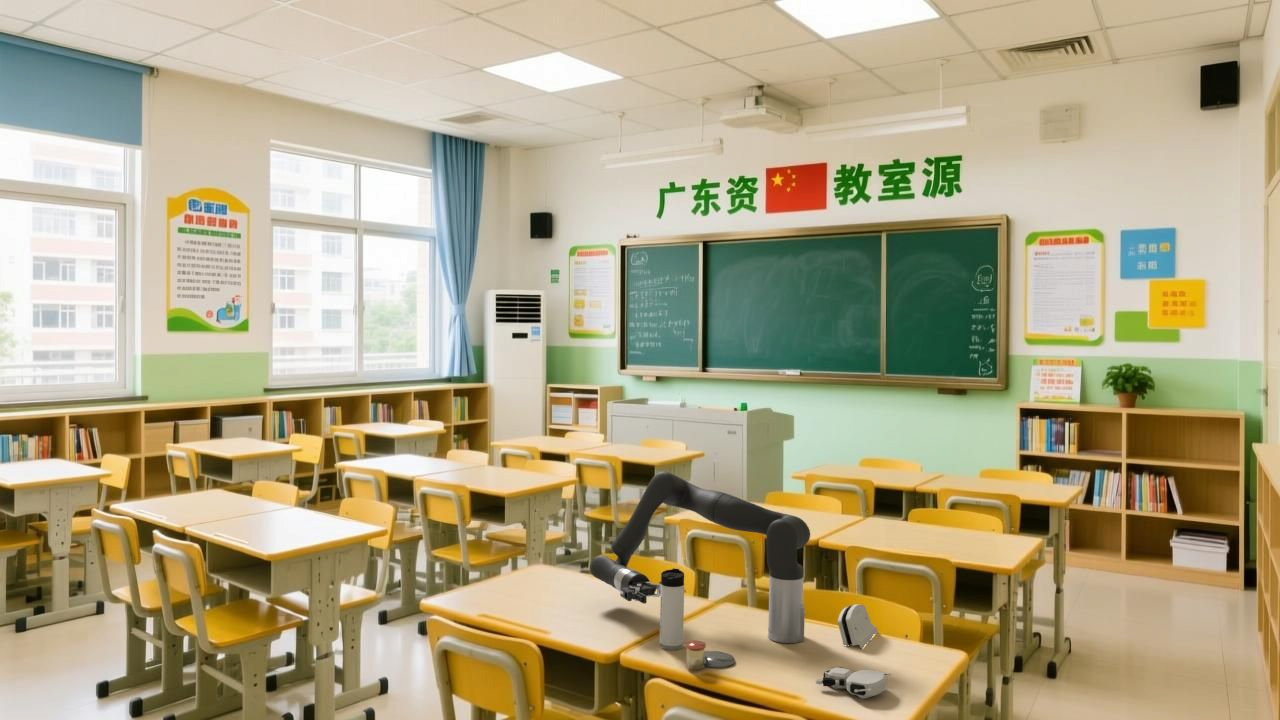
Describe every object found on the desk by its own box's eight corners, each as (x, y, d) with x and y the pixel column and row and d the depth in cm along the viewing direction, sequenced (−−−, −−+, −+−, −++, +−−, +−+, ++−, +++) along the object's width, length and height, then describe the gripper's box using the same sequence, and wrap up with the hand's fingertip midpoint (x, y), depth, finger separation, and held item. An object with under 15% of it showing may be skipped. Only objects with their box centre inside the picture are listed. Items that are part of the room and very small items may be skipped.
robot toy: (812, 694, 205) (874, 707, 196) (811, 675, 205) (873, 686, 196) (835, 678, 214) (894, 690, 205) (834, 660, 215) (893, 670, 205)
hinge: (862, 650, 232) (850, 612, 234) (845, 652, 235) (834, 615, 236) (878, 632, 247) (867, 597, 248) (862, 635, 249) (851, 600, 251)
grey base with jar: (710, 651, 229) (711, 626, 229) (742, 660, 223) (742, 635, 223) (673, 666, 218) (673, 641, 218) (705, 677, 211) (705, 651, 211)
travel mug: (686, 643, 235) (687, 569, 234) (679, 651, 229) (680, 575, 228) (663, 640, 237) (665, 567, 236) (656, 648, 231) (657, 573, 230)
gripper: (609, 573, 250) (636, 587, 235) (653, 567, 256) (681, 581, 242) (609, 599, 250) (636, 615, 235) (652, 593, 256) (681, 608, 242)
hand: (659, 597), depth 239 cm, fingers open, 8 cm apart
